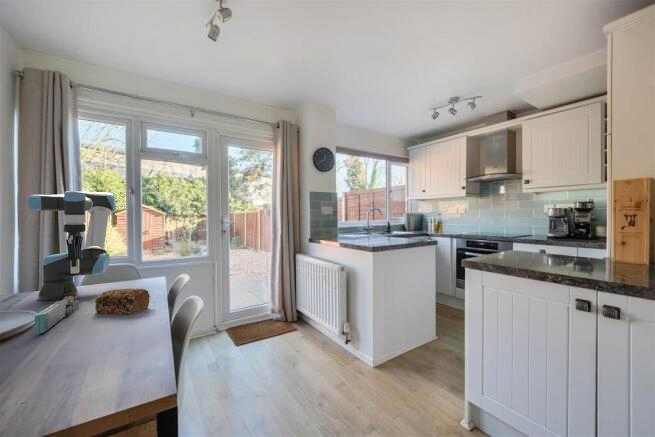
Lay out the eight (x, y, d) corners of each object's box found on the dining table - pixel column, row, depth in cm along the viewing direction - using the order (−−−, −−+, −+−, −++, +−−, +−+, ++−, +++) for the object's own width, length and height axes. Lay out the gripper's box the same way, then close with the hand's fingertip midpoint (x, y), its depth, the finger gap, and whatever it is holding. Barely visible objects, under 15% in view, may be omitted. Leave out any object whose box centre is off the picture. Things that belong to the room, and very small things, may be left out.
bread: (150, 307, 128) (150, 287, 128) (131, 316, 117) (131, 293, 117) (115, 306, 130) (115, 285, 130) (93, 314, 119) (93, 291, 119)
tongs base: (66, 309, 123) (66, 294, 123) (79, 308, 126) (79, 292, 126) (31, 336, 96) (31, 316, 96) (48, 334, 98) (48, 314, 98)
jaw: (64, 312, 117) (64, 298, 117) (71, 312, 118) (71, 297, 118) (37, 333, 97) (37, 315, 97) (46, 332, 98) (46, 314, 98)
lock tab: (65, 302, 121) (66, 296, 121) (73, 301, 122) (73, 295, 122) (63, 304, 118) (63, 297, 118) (71, 303, 119) (71, 297, 119)
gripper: (69, 223, 130) (69, 270, 131) (58, 224, 119) (58, 276, 119) (89, 223, 134) (89, 269, 134) (80, 224, 122) (80, 275, 123)
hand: (74, 272), depth 127 cm, fingers closed
